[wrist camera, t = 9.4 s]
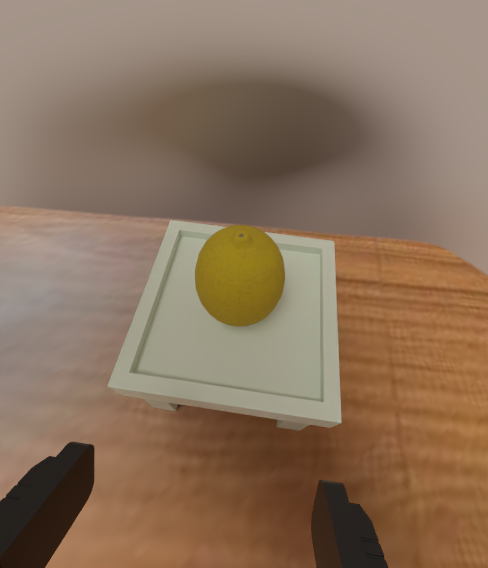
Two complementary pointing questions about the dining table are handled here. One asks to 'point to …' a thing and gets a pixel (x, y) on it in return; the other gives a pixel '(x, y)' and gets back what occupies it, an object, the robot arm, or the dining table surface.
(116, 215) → the dining table surface
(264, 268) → the lemon
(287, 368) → the stool
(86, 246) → the dining table surface
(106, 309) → the dining table surface
